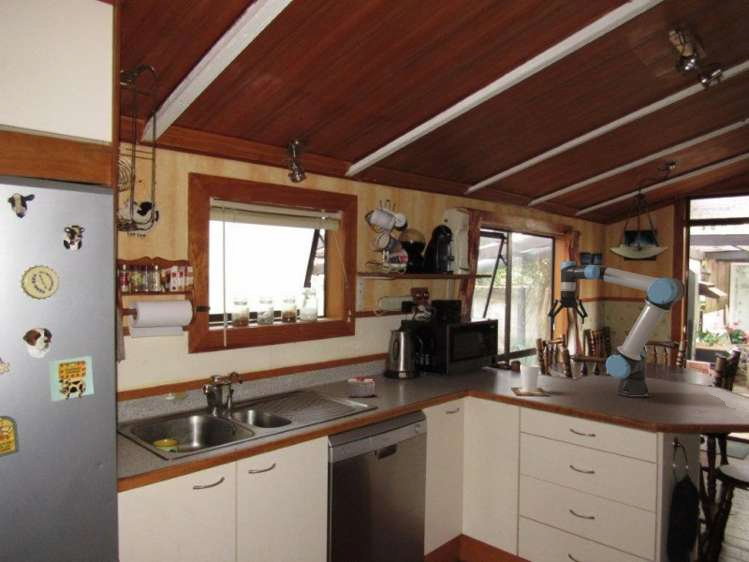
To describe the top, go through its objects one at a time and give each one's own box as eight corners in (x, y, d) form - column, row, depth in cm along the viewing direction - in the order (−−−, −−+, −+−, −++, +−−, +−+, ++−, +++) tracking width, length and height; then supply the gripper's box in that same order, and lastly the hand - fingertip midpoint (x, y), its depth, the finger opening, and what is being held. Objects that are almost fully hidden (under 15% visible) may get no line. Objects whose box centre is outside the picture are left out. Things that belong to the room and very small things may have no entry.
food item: (372, 393, 276) (372, 374, 275) (374, 397, 268) (375, 377, 267) (346, 394, 274) (346, 375, 273) (347, 398, 266) (347, 378, 266)
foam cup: (534, 393, 273) (535, 367, 273) (517, 390, 278) (517, 365, 278) (541, 390, 280) (541, 365, 280) (524, 387, 286) (524, 363, 286)
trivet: (541, 389, 287) (541, 387, 287) (549, 396, 271) (549, 394, 271) (510, 389, 288) (510, 386, 288) (516, 395, 272) (516, 393, 272)
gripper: (589, 290, 290) (589, 329, 290) (542, 289, 292) (542, 329, 292) (594, 290, 283) (594, 331, 283) (546, 290, 284) (545, 330, 284)
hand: (567, 330), depth 287 cm, fingers open, 13 cm apart
